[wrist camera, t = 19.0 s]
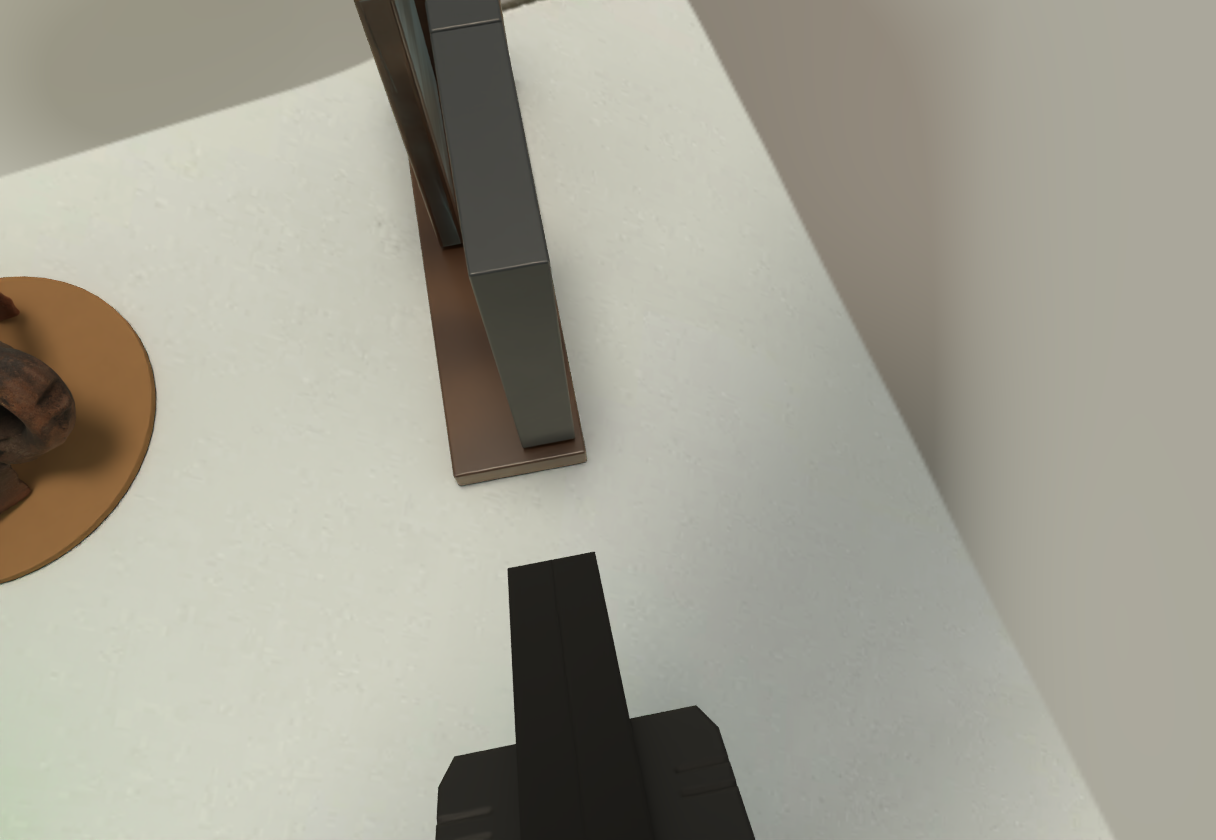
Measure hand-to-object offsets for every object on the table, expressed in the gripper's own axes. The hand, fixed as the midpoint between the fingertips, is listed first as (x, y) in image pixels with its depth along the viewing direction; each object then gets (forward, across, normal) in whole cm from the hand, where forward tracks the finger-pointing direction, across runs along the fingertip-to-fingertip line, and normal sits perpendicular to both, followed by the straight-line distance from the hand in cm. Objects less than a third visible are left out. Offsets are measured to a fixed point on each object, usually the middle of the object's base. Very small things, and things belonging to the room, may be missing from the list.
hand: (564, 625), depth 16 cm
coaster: (+23, -22, -2) cm, 32 cm away
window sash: (+21, 0, -2) cm, 21 cm away
